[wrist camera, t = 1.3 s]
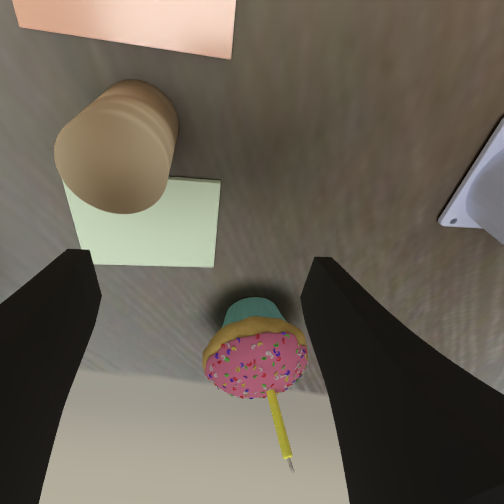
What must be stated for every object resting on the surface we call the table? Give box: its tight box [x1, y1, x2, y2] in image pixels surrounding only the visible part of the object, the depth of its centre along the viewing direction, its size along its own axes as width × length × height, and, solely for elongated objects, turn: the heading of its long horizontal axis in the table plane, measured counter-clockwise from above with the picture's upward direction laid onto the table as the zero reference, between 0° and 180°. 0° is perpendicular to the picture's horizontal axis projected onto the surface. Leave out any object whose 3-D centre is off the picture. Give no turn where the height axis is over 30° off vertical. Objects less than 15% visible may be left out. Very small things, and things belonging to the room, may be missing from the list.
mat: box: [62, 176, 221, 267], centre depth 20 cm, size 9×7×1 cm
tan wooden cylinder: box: [54, 80, 179, 214], centre depth 14 cm, size 4×4×6 cm
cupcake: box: [203, 297, 308, 473], centre depth 23 cm, size 9×8×12 cm
